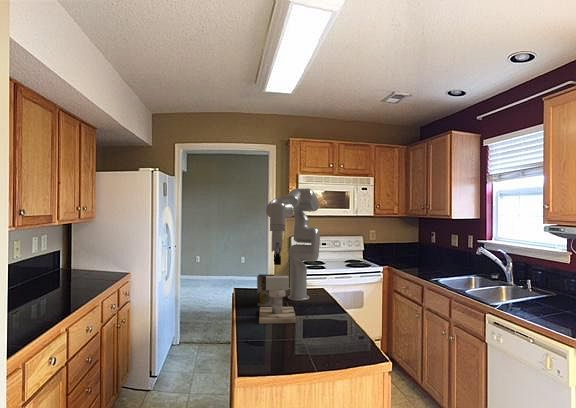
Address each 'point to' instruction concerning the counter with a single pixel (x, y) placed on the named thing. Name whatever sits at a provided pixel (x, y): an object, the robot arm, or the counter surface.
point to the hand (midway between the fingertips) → (277, 263)
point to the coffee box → (263, 291)
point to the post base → (272, 317)
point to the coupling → (277, 285)
